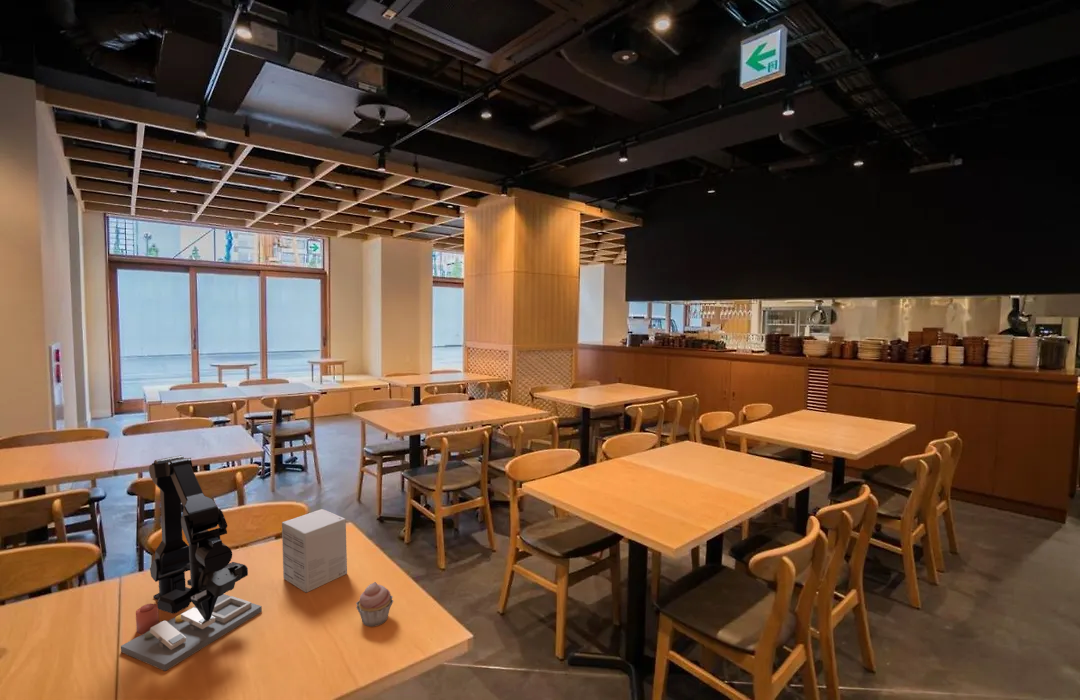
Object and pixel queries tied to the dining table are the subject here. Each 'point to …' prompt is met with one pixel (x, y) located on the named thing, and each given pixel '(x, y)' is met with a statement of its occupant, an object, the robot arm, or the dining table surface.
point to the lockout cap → (146, 618)
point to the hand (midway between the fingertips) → (207, 619)
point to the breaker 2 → (196, 618)
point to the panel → (192, 633)
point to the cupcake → (374, 605)
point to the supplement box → (314, 549)
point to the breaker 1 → (168, 634)
